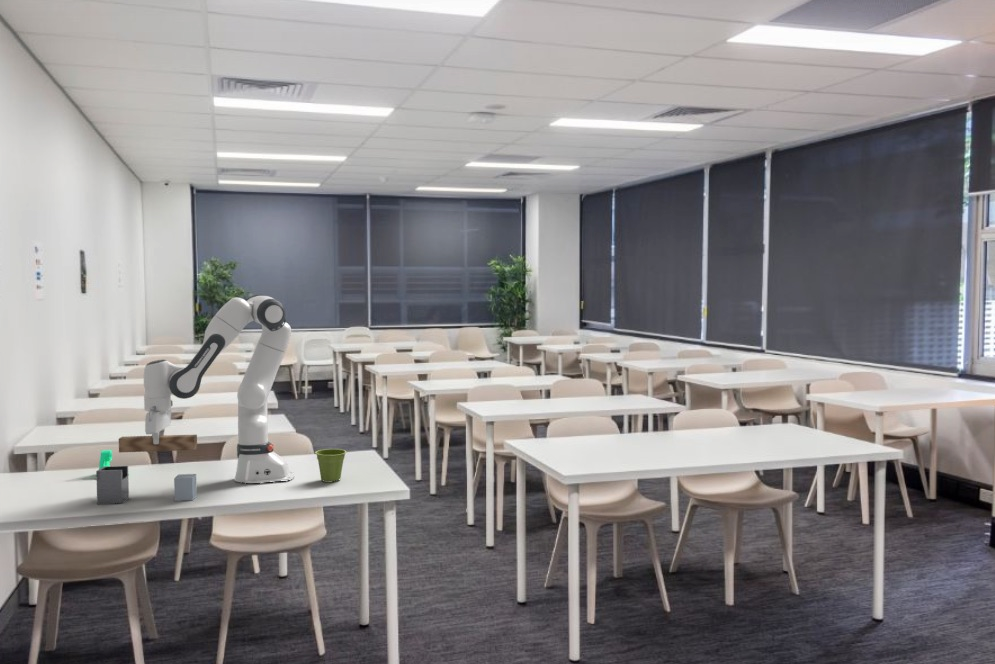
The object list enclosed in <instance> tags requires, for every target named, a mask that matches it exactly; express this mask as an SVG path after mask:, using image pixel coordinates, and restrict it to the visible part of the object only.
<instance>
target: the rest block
mask: <svg viewBox="0 0 995 664" xmlns="http://www.w3.org/2000/svg"><path fill="white" fill-rule="evenodd" d="M173 485H174V486H173V487H174V488H173V489H174V491H173V492H174V502H182V501H181V500H192V501H194V500H195V499H196V497H197V496H198V495H197V494H198V493H197V474H196V473H187V474H186V473H184V474H183V473H182V474H177V475H176V476H175V477H174V478H173ZM193 499H194V500H193Z"/></svg>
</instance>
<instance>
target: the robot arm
mask: <svg viewBox="0 0 995 664" xmlns="http://www.w3.org/2000/svg"><path fill="white" fill-rule="evenodd" d="M251 322H255V323H256V324H259V325H261V335H260V337H259V339H258V342H257V344H256V346H255V348H254V350H253V353H252V356H251V358H250V360H249V363H248V366H247V368H246V371H245V373H244V375H243V378H242V380H241V383H240V384H239V386H238V390H237V394H236V395H237V440H238V441H237V442H238V443H237V445H236V456H237V457H236V458H237V464H236V465H237V466H236V472H235V476H234V482H238V483H242V482H245V483H244V484H246V483H260V484H262V483H261V482H270V481H281V480H289V479H291V478H293V477H294V478H295V473H294V472H293V471H290V469H289V464H288V462H287V460H286V459H285V458H283V457H282V456H280V455H279V454H277V453H276V452H275V451H274V443H271V442H270V441H269V425H268V423H269V420H268V397H269V395H270V393H271V390H272V387H273V385H274V382H275V378H276V377H277V374H278V370H279V369H280V366H281V363H282V361H283V359H284V357H285V354H286V351H287V349H288V346H289V344H290V339H291V335H292V328H291V325H290V324H289V323H287V320H286V310H285V307H284V305H283V304H282V302H280V301H279V300H277V299H276V298H274V297H271V296H269V295H264V294H256V295H251V296H250V297H249V298H246V299H244V298H242V297H237V296H236V297H232V298H231V299H229V300H228V301H227V302H226V303H224V304H223V306H222V307H221V308H220V309H219V310H218V311H217V312H216V314H215V315H214V316H213V317H212V319H211V320H210V322H209V323H208V325H207V327H206V328H205V331H204V338H203V342H202V344H201V347H200V348H199V350H198V351H197V352H196V354H195V355H194V356H193V357H192V359H191V361H190V362H189V363H188V364H187V365H186V366H185V367H183V366H179V365H177V364H174V363H172V362H170V361H168V360H167V359H157V360H153V361H150V362H148V363H147V364H146V365H145V367H144V369H143V370H144V371H143V387H144V395H143V400H144V401H143V403H144V406H143V407H144V411H147V412H146V414H145V420H144V421H145V422H144V423H145V425H144V426H145V427H144V429H145V431H144V432H145V434H146V435H151V436H152V437H153V443H154V444H159V443H160V439H159V436H163V435H165V432H166V430H165V429H166V428H168V427H169V426H170V425H171V422H172V407H173V400H172V399H171V396H172V395H173V396H175V397H176V398H178V399H189V398H192V397H194V396H195V395H197V393H198V392H199V390H200V387H201V382H202V379H203V377H204V375H205V373H206V372H207V370H208V369H209V368H210V366H211V365H213V363H214V362H215V360H216V358H218V356H219V355H220V354H221V353H222V352H223V351H224V350H225V349H226V348H227V347H228V346H230V345H231V344H232V343H233V341H234V340H235V339H236V338H237V337H238V336H239V334H240V333H241V332H242V331H243V329H244V328H245V327H246V326H247V325H248V324H250V323H251ZM171 394H172V395H171ZM294 478H293V479H294Z"/></svg>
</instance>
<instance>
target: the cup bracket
mask: <svg viewBox="0 0 995 664" xmlns="http://www.w3.org/2000/svg"><path fill="white" fill-rule="evenodd" d="M95 477H96V505H97V504H98V505H115V503H116V505H118V504H117V503H122V504H123V503H124V501H125V500H126V501H127V500H128V499H129V498H130V495H129V493H130V491H129V484H130V483H129V465H110V466H104V467H102V468H101V469H99V468H98V469H97V470H96V476H95ZM126 501H125V502H126Z"/></svg>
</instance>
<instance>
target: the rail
mask: <svg viewBox="0 0 995 664" xmlns="http://www.w3.org/2000/svg"><path fill="white" fill-rule="evenodd" d="M159 439H160V443H159V444H154V443H153V437H152V435H137V436H136V435H134V436H132V435H130V436H121V437H119V438H118V453H142V452H143V453H148V452H174V451H175V452H176V451H179V452H180V451H181V452H182V451H196V450H197V449H198V435H197V434H179V435H178V434H173V435H172V434H169V435H167V434H166V435H165V434H164V435H163V436H159Z"/></svg>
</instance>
